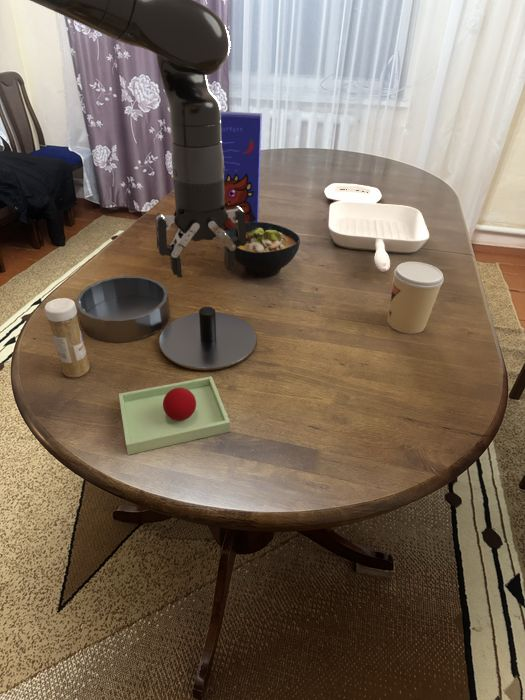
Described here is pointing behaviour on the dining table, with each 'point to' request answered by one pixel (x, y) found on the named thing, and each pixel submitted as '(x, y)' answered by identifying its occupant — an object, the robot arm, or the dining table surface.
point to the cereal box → (241, 163)
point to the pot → (123, 308)
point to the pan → (377, 228)
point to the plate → (352, 193)
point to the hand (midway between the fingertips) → (203, 272)
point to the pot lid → (207, 340)
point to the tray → (160, 430)
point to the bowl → (266, 248)
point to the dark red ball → (179, 404)
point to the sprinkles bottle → (67, 336)
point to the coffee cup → (413, 296)
